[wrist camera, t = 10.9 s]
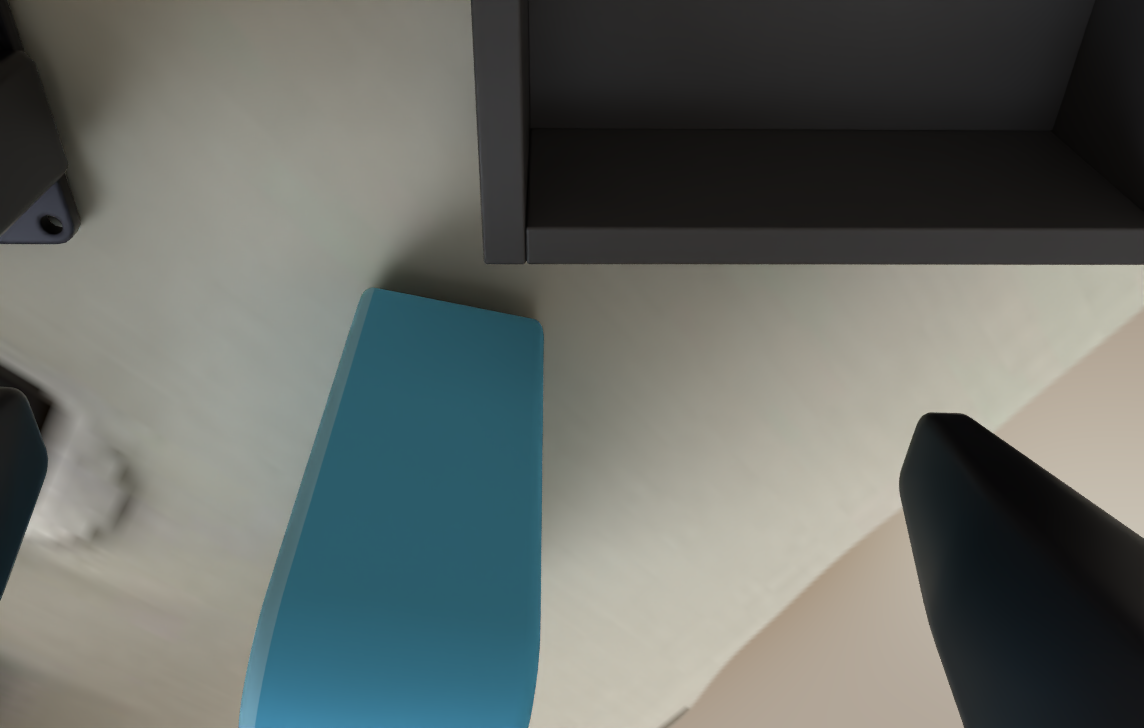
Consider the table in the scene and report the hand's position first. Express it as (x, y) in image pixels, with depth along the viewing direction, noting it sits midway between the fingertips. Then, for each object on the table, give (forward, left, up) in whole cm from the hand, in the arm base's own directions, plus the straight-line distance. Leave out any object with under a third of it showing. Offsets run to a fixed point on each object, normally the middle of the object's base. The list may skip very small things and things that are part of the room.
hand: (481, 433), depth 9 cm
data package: (-3, -12, -13) cm, 18 cm away
